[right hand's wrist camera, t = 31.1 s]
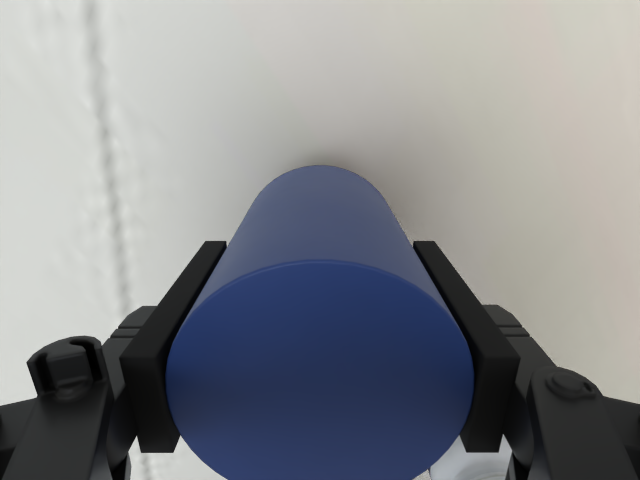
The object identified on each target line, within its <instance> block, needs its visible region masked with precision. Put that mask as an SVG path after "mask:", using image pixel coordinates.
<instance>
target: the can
mask: <svg viewBox="0 0 640 480" xmlns="http://www.w3.org/2000/svg"><path fill="white" fill-rule="evenodd" d="M165 385H166V396H167V402H168V407H169V410H170V413H171V416H172V418H173V421H174V424H175V425H176V427H177V429H178V431H179V433H180V435H181V436H182V438H183V439H184V441H185V442H186V443H187V445H188V446H189V447H190V449H191V450H192V451H193V452H194V453H195V454H196V455H197V456H198V457H199V458H200V459H201V460H202V461H203V462H204V463H205V464H206V465H208V466H209V467H210V468H211V469H213V470H214V471H215V472H217V473H218V474H220V475H221V476H223V477H224V478H226V479H228V480H412V479H414V478H415V477H417V476H418V475H420V474H422V473H423V472H425V471H426V470H427V469H428V468H430V467H431V466H432V465H433V464H434V463H436V462H437V461H438V460H439V459H440V458H441V457H442V456H443V455H444V454H445V453H446V452H447V451H448V450H449V448H450V447H451V446H452V444H453V443H454V442H455V440H456V439H457V437H458V436H459V434H460V432H461V430H462V429H463V427H464V425H465V423H466V421H467V418H468V415H469V412H470V409H471V406H472V400H473V395H474V368H473V361H472V356H471V353H470V350H469V347H468V344H467V341H466V340H465V338H464V336H463V334H462V332H461V330H460V328H459V326H458V325H457V323H456V321H455V319H454V318H453V316H452V314H451V313H450V311H449V309H448V307H447V306H446V304H445V302H444V300H443V299H442V297H441V295H440V294H439V292H438V290H437V288H436V287H435V285H434V283H433V282H432V280H431V278H430V276H429V275H428V273H427V271H426V270H425V268H424V266H423V264H422V263H421V261H420V259H419V257H418V256H417V254H416V252H415V251H414V249H413V247H412V245H411V244H410V242H409V240H408V239H407V237H406V235H405V233H404V232H403V230H402V228H401V226H400V225H399V223H398V221H397V220H396V218H395V216H394V214H393V213H392V211H391V209H390V208H389V206H388V204H387V202H386V201H385V199H384V198H383V196H382V195H381V194H380V192H379V191H378V190H377V189H376V188H375V187H374V186H373V185H372V184H371V183H369V182H368V181H367V180H365V179H364V178H362V177H361V176H359V175H357V174H355V173H353V172H351V171H348V170H346V169H342V168H338V167H333V166H326V165H314V166H307V167H301V168H298V169H294V170H292V171H289V172H287V173H284V174H283V175H281V176H279V177H278V178H276V179H274V180H273V181H272V182H271V183H269V184H268V185H267V186H266V187H265V188H264V189H263V190H262V191H261V192H260V193H259V195H258V196H257V198H256V199H255V200H254V202H253V204H252V205H251V207H250V209H249V211H248V212H247V214H246V216H245V217H244V219H243V221H242V223H241V224H240V226H239V228H238V230H237V231H236V233H235V235H234V236H233V238H232V240H231V242H230V243H229V245H228V247H227V248H226V250H225V252H224V254H223V255H222V257H221V259H220V260H219V262H218V264H217V266H216V267H215V269H214V271H213V272H212V274H211V276H210V278H209V279H208V281H207V283H206V285H205V286H204V288H203V290H202V291H201V293H200V295H199V297H198V298H197V300H196V302H195V303H194V305H193V307H192V309H191V310H190V312H189V314H188V315H187V317H186V319H185V321H184V322H183V324H182V326H181V328H180V330H179V331H178V333H177V335H176V337H175V339H174V341H173V343H172V346H171V350H170V353H169V356H168V359H167V366H166V373H165Z"/></svg>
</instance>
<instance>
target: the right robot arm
mask: <svg viewBox="0 0 640 480" xmlns="http://www.w3.org/2000/svg"><path fill="white" fill-rule="evenodd" d="M226 248H227V244H226V241H205V242H204V244H203V245H202V247H201V248H200V249H199V251H198V252H197V253H196V255H195V256H194V257H193V259H192V260H191V261H190V263H189V264H188V265H187V267H186V268H185V269H184V271H183V272H182V273H181V275H180V276H179V277H178V279H177V280H176V281H175V283H174V284H173V285H172V287H171V288H170V289H169V291H168V292H167V294H166V295H165V296H164V298H163V299H162V300H161V302H160V303H159V304H158V306H142V307H140V308H139V309H137V310H136V311H134V312H132V313H131V314H129V315H128V316H127V317H126V318H125V319H124V320H123V322H122V323H121V324H120V325H119V326H118V329H116V330H115V331H114V332H113V333H112V335H111V336H110V338H108V339H107V341H106V342H105V343H104V344H103V345H102V346H101V342H100V341H99V340H98V339H96V338H95V337H90V336H75V337H69V338H65V339H62V340H58V341H56V342H54V343H51V344H49V345H47V346H45V347H43V348H42V349H40V350H39V351H37V352H36V353H34V354H33V355H32V356H31V358H30V359H29V360H28V361H27V362H26V363H27V366H28V369H29V372H30V374H31V377H32V380H33V383H34V386H35V389H36V392H37V395H38V396H37V398H34V399H30V400H25V401H21V402H16V403H11V404H7V405H2V406H0V480H130V475H131V462H130V457H129V453H128V451H129V449H130V447H131V445H132V443H133V441H134V440H135V438H136V436H137V438H138V442H139V446H140V450H141V453H173V452H174V450H175V447H176V445H177V442H178V440H179V437H180V433H179V431H178V429H177V427H176V425H175V424H174V421H173V418H172V416H171V413H170V410H169V407H168V402H167V396H166V385H165V373H166V366H167V359H168V356H169V353H170V350H171V346H172V343H173V341H174V339H175V337H176V335H177V333H178V331H179V330H180V328H181V326H182V324H183V322H184V321H185V319H186V317H187V315H188V314H189V312H190V310H191V309H192V307H193V305H194V303H195V302H196V300H197V298H198V297H199V295H200V293H201V291H202V290H203V288H204V286H205V285H206V283H207V281H208V279H209V278H210V276H211V274H212V272H213V271H214V269H215V267H216V266H217V264H218V262H219V260H220V259H221V257H222V255H223V254H224V252H225V250H226ZM413 249H414V251H415V252H416V254H417V256H418V257H419V259H420V261H421V263H422V264H423V266H424V268H425V270H426V271H427V273H428V275H429V276H430V278H431V280H432V282H433V283H434V285H435V287H436V288H437V290H438V292H439V294H440V295H441V297H442V299H443V300H444V302H445V304H446V306H447V307H448V309H449V311H450V313H451V314H452V316H453V318H454V319H455V321H456V323H457V325H458V326H459V328H460V330H461V332H462V334H463V336H464V338H465V340H466V341H467V344H468V347H469V350H470V353H471V356H472V361H473V368H474V395H473V400H472V406H471V409H470V412H469V415H468V418H467V421H466V423H465V425H464V427H463V429H462V430H461V432H460V434H459V436H460V438H461V441H462V443H463V446H464V448H465V451H466V453H499V449H500V445H501V441H502V436H503V434H504V436H505V438H506V440H507V442H508V444H509V446H510V448H511V449H512V453H511V457H510V461H509V465H508V469H507V473H506V477H505V480H640V404H636V403H632V402H627V401H622V400H618V399H613V398H609V397H605V396H603V395H602V393H601V392H600V391H599V389H598V388H597V386H596V385H594V384H593V383H592V382H591V381H589V380H588V379H587V378H585V377H584V376H582V375H580V374H578V373H576V372H574V371H571V370H568V369H564V368H561V367H557V366H556V365H555V364H554V363H553V362H552V360H551V359H550V358H549V357H548V356H547V355H546V353H545V352H544V351H543V350H542V349H541V347H540V346H539V345H538V344H537V343H536V342H535V340H534V339H533V338H532V337H530V334H529V333H528V332H527V331H526V330H525V329H524V328H522V325H521V324H520V323H519V322H518V320H517V319H516V318H515V317H514V316H513V314H511V313H510V312H508V311H506V310H505V309H503V308H502V307H500V306H498V305H481V303H480V302H479V301H478V299H477V298H476V297H475V295H474V294H473V293H472V291H471V290H470V288H469V287H468V286H467V284H466V283H465V282H464V280H463V279H462V278H461V276H460V275H459V274H458V272H457V271H456V270H455V268H454V267H453V266H452V264H451V263H450V262H449V260H448V259H447V258H446V256H445V255H444V254H443V252H442V251H441V250H440V248H439V247H438V246H437V244H436V243H435V241H414V242H413Z"/></svg>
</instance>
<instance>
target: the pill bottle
mask: <svg viewBox="0 0 640 480" xmlns="http://www.w3.org/2000/svg"><path fill="white" fill-rule="evenodd" d="M511 453H512V449H511V448H510V446H509V444H508V442H507V440H506V438H505V436H504V434H503V436H502V441H501V445H500V449H499V453H466V451H465V448H464V446H463V443H462V441H461V438H460V436H458V437H457V439H456V440H455V442H454V443H453V444H452V446H451V447H450V448H449V450H448V451H447V452H446V453H445V454H444V455H443V456H442V457H441V458H440V459H439V460H438V461H437V462H436V463H434V464H433V465H432V466H431V467H430V468H428V470H429V474H430V477H431V480H505V477H506V473H507V469H508V465H509V461H510V457H511Z"/></svg>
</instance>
